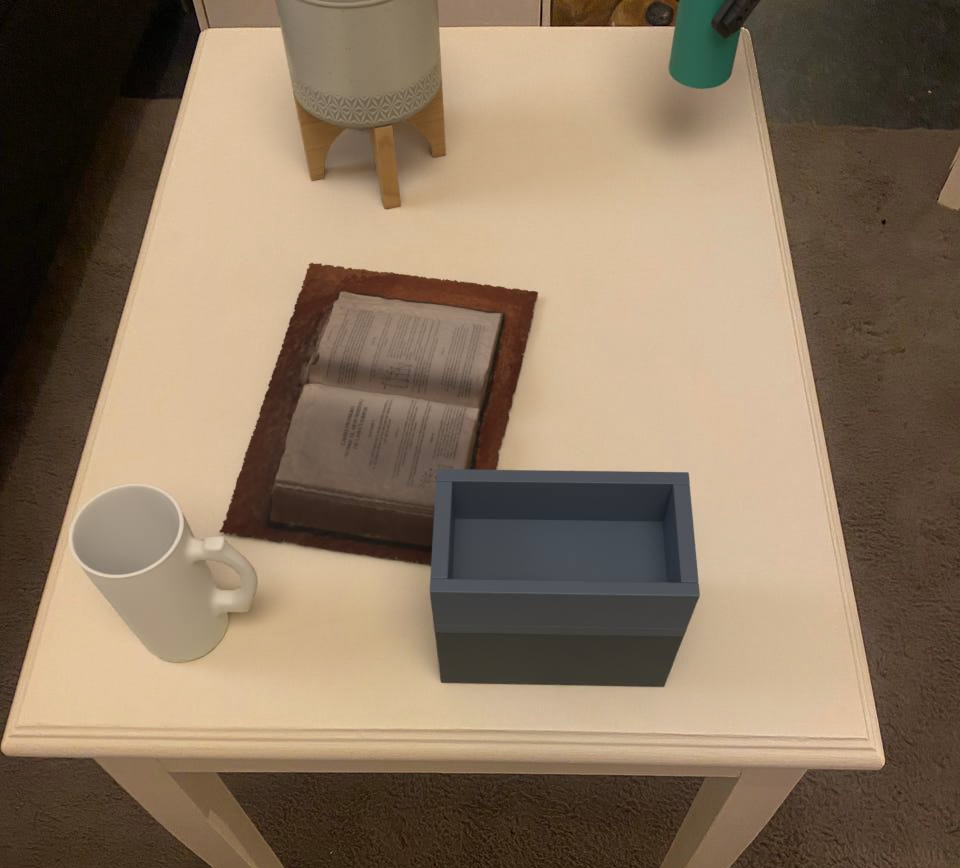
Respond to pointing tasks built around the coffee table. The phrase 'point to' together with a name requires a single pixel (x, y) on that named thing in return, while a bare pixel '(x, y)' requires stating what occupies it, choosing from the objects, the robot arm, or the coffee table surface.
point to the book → (379, 409)
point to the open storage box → (561, 576)
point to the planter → (364, 76)
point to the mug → (158, 570)
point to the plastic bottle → (701, 46)
